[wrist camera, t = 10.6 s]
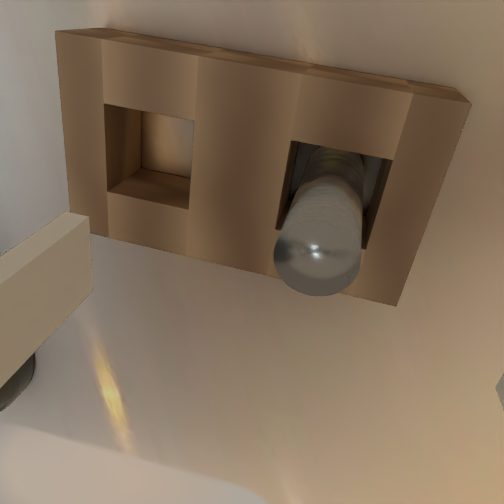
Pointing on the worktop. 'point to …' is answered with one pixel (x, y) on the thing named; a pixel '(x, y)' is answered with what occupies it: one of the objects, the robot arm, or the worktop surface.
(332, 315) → the worktop surface
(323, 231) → the peg
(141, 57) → the socket block
